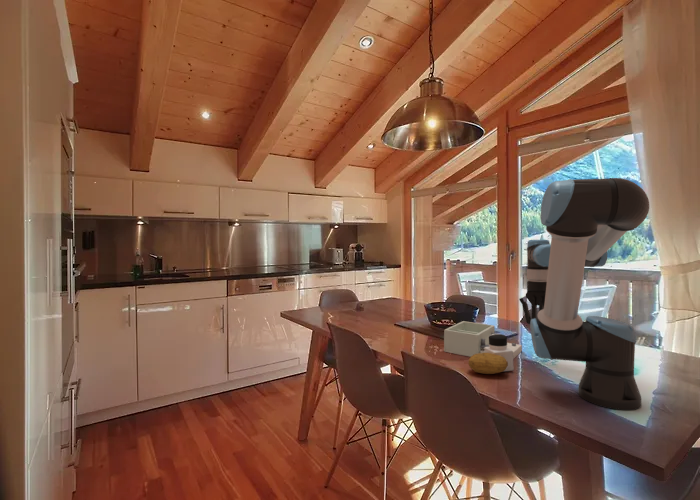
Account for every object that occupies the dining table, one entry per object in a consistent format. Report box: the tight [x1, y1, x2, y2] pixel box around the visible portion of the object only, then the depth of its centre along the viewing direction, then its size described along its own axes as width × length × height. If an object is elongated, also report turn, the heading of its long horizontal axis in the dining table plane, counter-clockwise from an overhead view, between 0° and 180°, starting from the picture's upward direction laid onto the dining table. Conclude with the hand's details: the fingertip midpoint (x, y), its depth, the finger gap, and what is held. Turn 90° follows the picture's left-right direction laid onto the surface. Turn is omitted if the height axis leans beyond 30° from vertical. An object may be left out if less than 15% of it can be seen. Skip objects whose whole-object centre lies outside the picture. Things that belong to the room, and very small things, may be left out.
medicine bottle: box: [484, 333, 515, 372], centre depth 135 cm, size 7×7×12 cm
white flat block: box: [480, 342, 523, 360], centre depth 152 cm, size 18×11×4 cm, turn 142°
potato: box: [468, 353, 508, 375], centre depth 131 cm, size 9×13×7 cm
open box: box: [443, 320, 496, 358], centre depth 158 cm, size 20×18×9 cm
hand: (537, 343), depth 142 cm, fingers closed
